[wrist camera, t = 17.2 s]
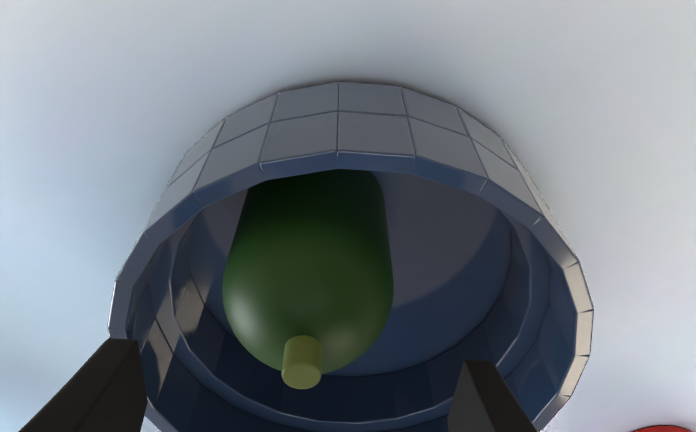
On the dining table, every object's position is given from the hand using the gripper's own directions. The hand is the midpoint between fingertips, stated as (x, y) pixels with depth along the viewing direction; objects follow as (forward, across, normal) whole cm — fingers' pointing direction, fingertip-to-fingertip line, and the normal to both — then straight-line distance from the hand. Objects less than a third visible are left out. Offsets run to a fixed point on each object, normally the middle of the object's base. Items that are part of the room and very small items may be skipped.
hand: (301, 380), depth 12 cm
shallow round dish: (+8, -1, +2) cm, 8 cm away
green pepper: (+7, 0, 0) cm, 7 cm away
